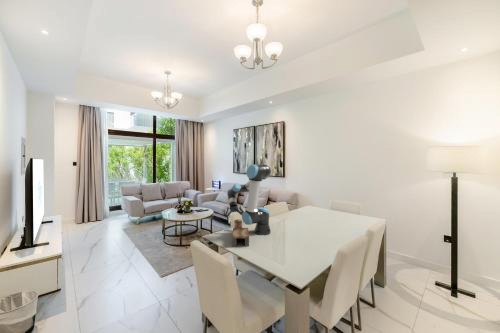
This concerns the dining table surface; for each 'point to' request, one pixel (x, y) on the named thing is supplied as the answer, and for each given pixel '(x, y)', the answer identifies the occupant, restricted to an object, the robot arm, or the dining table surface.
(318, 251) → the dining table surface
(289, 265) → the dining table surface
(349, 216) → the dining table surface
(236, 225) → the cord reel
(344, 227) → the dining table surface
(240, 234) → the bridge shelf
